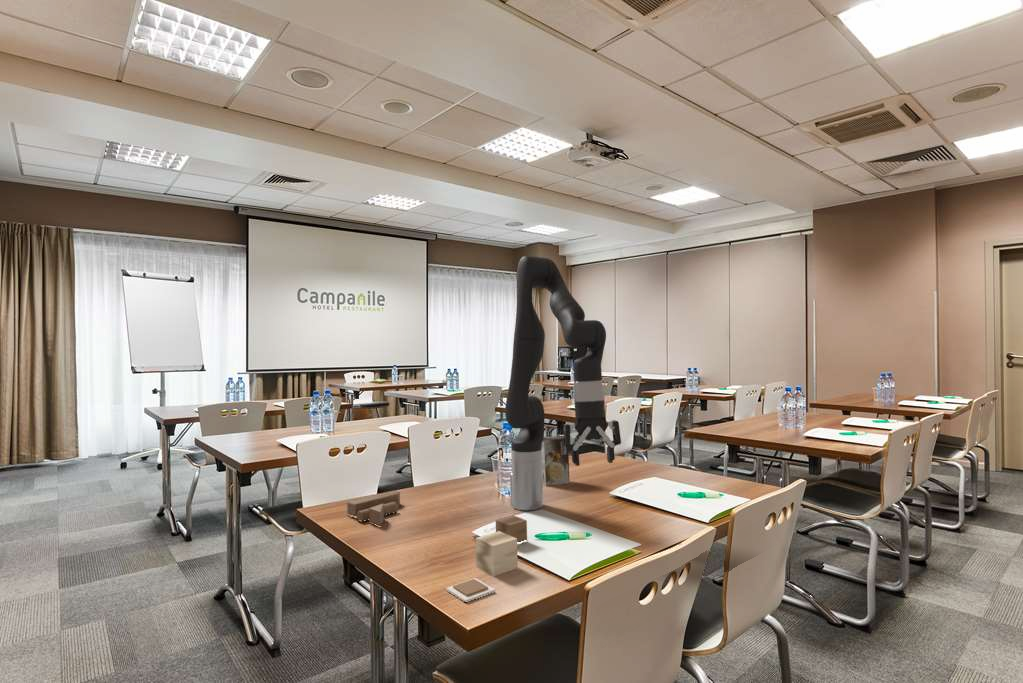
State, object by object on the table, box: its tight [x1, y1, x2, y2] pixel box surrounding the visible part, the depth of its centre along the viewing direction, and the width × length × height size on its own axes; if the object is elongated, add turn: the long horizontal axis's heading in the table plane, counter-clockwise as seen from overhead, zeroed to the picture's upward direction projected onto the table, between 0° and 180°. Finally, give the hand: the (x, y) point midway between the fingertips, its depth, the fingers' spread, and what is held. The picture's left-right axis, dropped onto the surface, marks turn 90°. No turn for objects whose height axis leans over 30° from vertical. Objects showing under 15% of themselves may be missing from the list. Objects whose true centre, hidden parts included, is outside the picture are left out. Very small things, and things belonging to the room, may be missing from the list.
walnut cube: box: [495, 514, 528, 542], centre depth 133 cm, size 6×6×6 cm
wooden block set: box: [346, 490, 401, 527], centre depth 158 cm, size 17×6×18 cm
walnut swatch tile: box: [445, 577, 496, 603], centre depth 106 cm, size 7×7×1 cm
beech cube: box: [475, 531, 519, 577], centre depth 118 cm, size 6×6×6 cm
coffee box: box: [542, 435, 571, 487], centre depth 190 cm, size 9×6×16 cm
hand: (593, 463), depth 134 cm, fingers open, 8 cm apart
